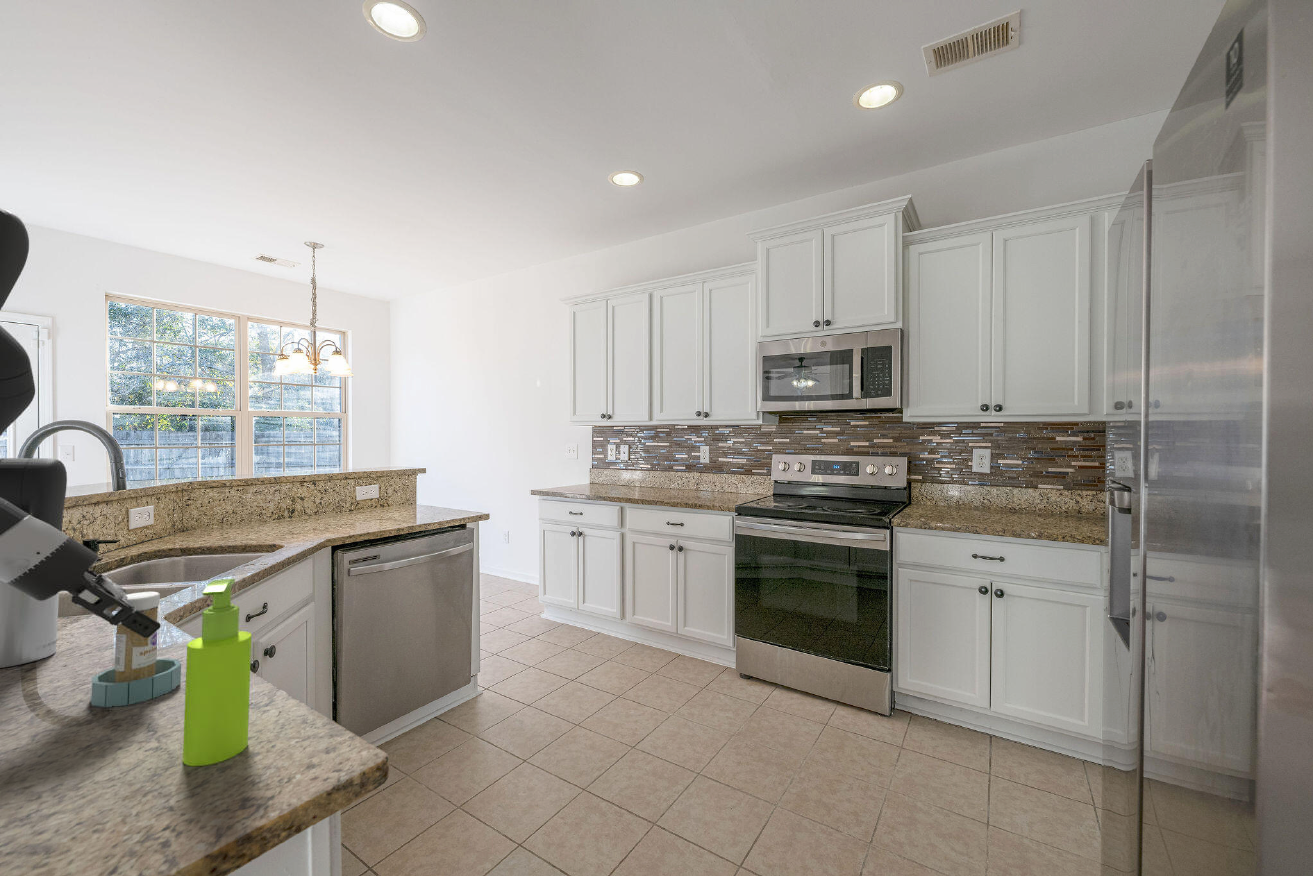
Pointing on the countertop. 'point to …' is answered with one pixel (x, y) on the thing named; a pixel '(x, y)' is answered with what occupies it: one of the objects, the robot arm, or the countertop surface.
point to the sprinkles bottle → (137, 642)
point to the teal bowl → (135, 685)
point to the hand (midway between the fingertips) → (151, 624)
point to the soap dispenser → (217, 683)
